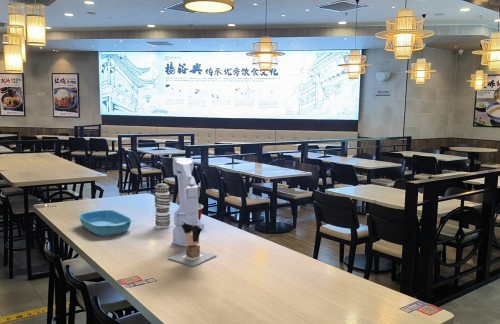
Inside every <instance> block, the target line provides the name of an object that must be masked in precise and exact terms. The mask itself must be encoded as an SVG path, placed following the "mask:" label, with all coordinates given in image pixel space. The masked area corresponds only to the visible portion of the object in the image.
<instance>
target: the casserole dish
mask: <svg viewBox="0 0 500 324" xmlns="http://www.w3.org/2000/svg"><path fill="white" fill-rule="evenodd" d="M78 218H79V220H80V223H81V225H82V227H84V228H85V229H88V231H90V232H91V233H93V234H95V235H97V236H100V237H106V236H113V235H118V234H122V233H125V232H127V231H128V230H129V229H130V227H131V223H132V220H133V219H132V218H131V217H129V216H127V215H125V214H123V213H120V212H119V211H116V210H113V209H103V210H102V209H97V210H90V211H87V212H83V213H80V214H78Z"/></svg>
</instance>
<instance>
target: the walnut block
mask: <svg viewBox="0 0 500 324" xmlns="http://www.w3.org/2000/svg"><path fill="white" fill-rule="evenodd" d="M200 247H201V246H200V245H199V244H196V245H193V246H191V245H186V246H185V251H186V256H188V257H190V258H195V257H198V256H200V251H201V248H200Z"/></svg>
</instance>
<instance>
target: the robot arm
mask: <svg viewBox="0 0 500 324" xmlns="http://www.w3.org/2000/svg"><path fill="white" fill-rule="evenodd" d="M194 163H195V162H194V159H193V157H189V158H188V157H185V158H175V157H174V158H173V159H172V170H173V171H172V172H173V175H174V176H177V184H178V185H177V186H178V187H177V188H178V206H179V207H178V208H177V209H176V210H175V211H174V214H173V221H174V227H173V229H172V242H171V244H173V245H177V246H181V247H185V248H186V245H188V244H185V233H188V232H191V231H192V233H193V241H194V242H197V241H198V238H199V239H200V234H201V232H202V231H203V229H204V228H205V223H203V222H202V221H201V219H200V220H198V204H199V199H200V194H201V192H200V191H201V190H200V186H199V185H198V184H197V182H196V179H195V177H194V176H193V175H192V172H193V169H194V168H195V166H194V165H195V164H194ZM193 226H194V227H193Z"/></svg>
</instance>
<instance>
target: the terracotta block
mask: <svg viewBox="0 0 500 324" xmlns="http://www.w3.org/2000/svg"><path fill="white" fill-rule="evenodd" d="M185 244H188V245H191V246H193V245H196V244H197V245H199V244H200V237H199V238H198V241H197V242H194V241H193V233H192V231H191V232H188V233H185Z"/></svg>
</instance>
